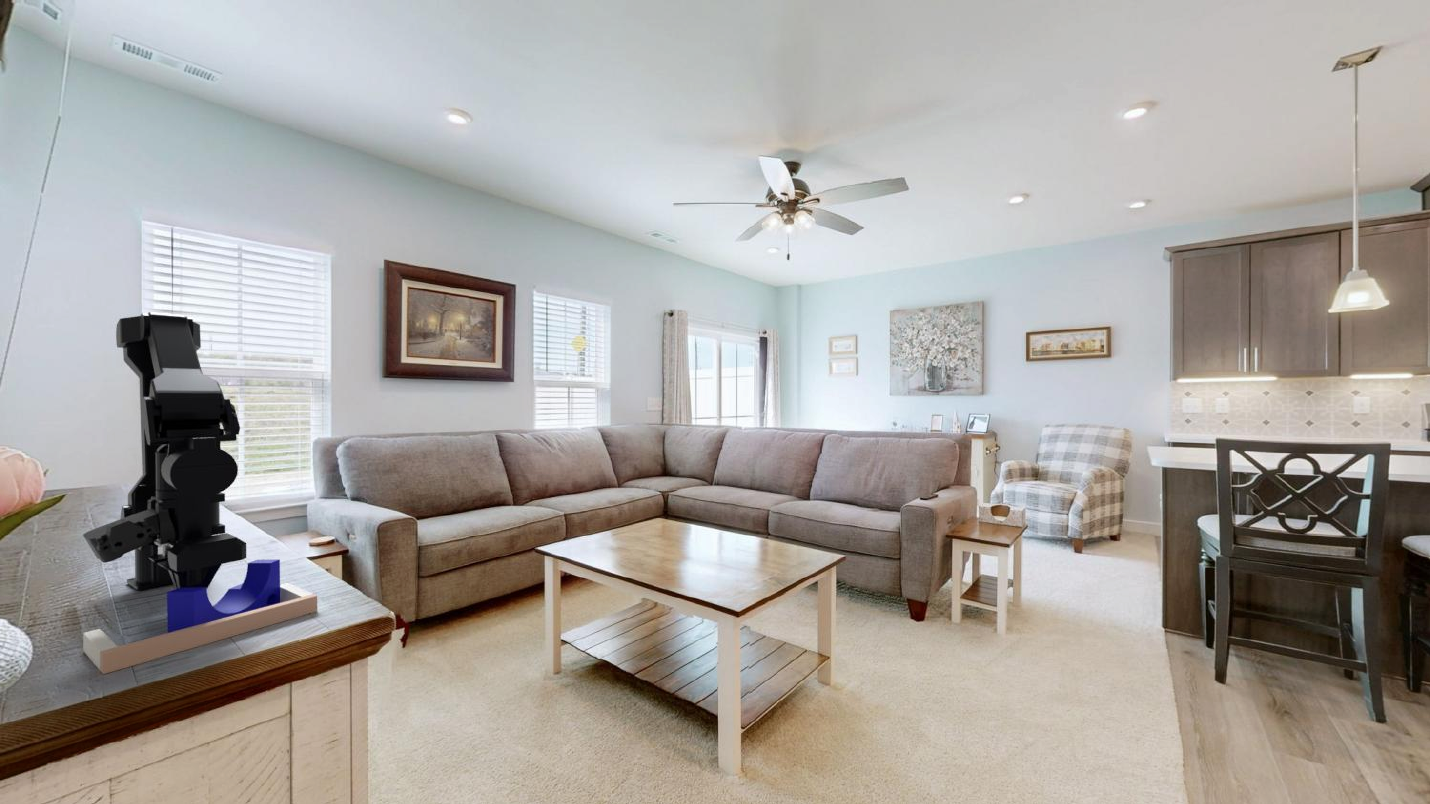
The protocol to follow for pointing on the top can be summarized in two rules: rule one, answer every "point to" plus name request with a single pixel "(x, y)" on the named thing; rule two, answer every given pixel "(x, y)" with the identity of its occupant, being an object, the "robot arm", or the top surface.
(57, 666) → the top surface
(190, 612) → the blue half clamp
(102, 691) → the top surface
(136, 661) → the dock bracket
